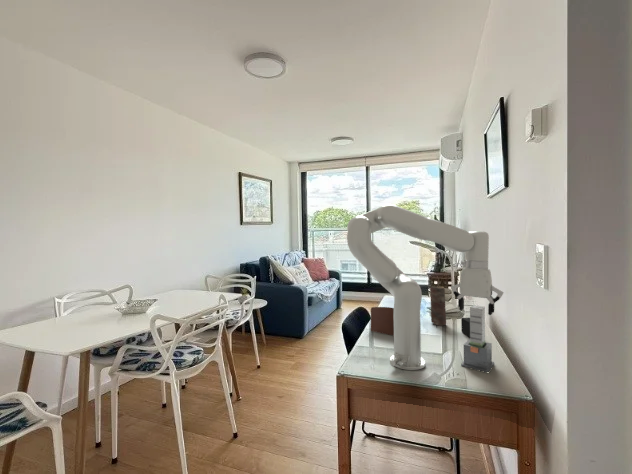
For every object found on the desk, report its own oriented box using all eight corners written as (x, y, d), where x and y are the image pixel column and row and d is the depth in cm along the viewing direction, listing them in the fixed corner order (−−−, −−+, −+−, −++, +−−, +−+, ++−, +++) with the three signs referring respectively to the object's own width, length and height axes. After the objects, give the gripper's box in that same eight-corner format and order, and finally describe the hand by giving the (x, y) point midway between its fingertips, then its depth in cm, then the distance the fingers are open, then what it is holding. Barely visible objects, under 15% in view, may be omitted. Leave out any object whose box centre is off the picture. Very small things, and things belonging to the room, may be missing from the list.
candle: (428, 324, 167) (427, 286, 167) (435, 321, 172) (434, 284, 171) (442, 327, 161) (441, 288, 161) (448, 324, 166) (448, 286, 166)
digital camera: (483, 338, 143) (483, 323, 143) (471, 339, 143) (471, 323, 143) (472, 331, 154) (472, 317, 154) (461, 331, 154) (461, 317, 154)
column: (482, 348, 113) (482, 309, 112) (469, 345, 115) (469, 307, 115) (485, 344, 116) (485, 306, 116) (472, 341, 119) (472, 304, 118)
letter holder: (411, 341, 142) (410, 310, 142) (370, 334, 153) (369, 305, 153) (417, 335, 151) (416, 305, 150) (378, 328, 161) (377, 301, 161)
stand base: (488, 373, 109) (488, 350, 109) (460, 366, 115) (460, 345, 115) (494, 364, 116) (494, 343, 116) (468, 358, 122) (467, 338, 122)
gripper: (448, 264, 118) (447, 309, 118) (501, 268, 107) (500, 318, 107) (454, 262, 124) (454, 306, 124) (505, 266, 112) (504, 314, 113)
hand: (475, 311), depth 115 cm, fingers open, 9 cm apart
